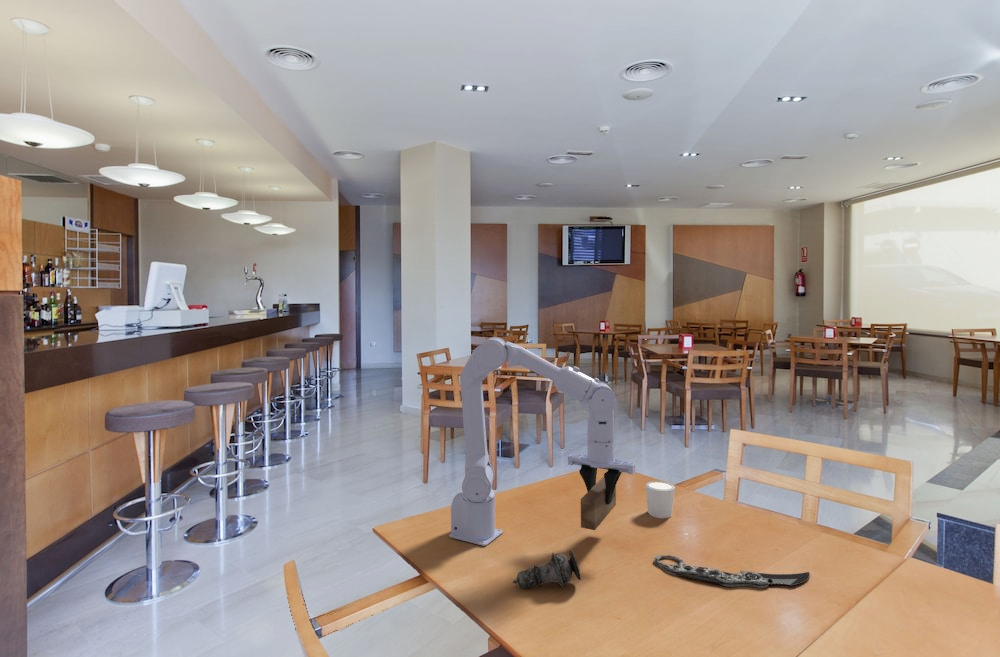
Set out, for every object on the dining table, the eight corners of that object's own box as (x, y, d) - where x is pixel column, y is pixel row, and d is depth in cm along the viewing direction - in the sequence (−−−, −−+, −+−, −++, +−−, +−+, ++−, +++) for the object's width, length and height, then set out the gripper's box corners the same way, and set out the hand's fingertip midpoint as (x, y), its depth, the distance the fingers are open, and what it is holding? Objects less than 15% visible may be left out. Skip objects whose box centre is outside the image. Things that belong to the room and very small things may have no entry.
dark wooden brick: (580, 527, 110) (580, 499, 109) (603, 502, 122) (602, 477, 122) (594, 530, 108) (594, 501, 108) (615, 504, 121) (615, 479, 120)
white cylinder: (651, 506, 135) (651, 478, 135) (678, 512, 131) (678, 484, 130) (641, 515, 129) (641, 486, 129) (669, 521, 125) (669, 492, 125)
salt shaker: (581, 587, 97) (518, 606, 96) (571, 557, 102) (510, 575, 101) (580, 571, 94) (514, 590, 92) (569, 541, 98) (506, 559, 97)
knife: (809, 568, 101) (824, 593, 92) (809, 576, 101) (824, 602, 92) (654, 550, 110) (653, 571, 100) (654, 557, 110) (653, 579, 100)
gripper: (562, 439, 115) (562, 501, 116) (628, 448, 108) (628, 514, 109) (574, 432, 121) (574, 491, 122) (638, 440, 114) (637, 502, 115)
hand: (600, 501), depth 116 cm, fingers closed on dark wooden brick, 3 cm apart
